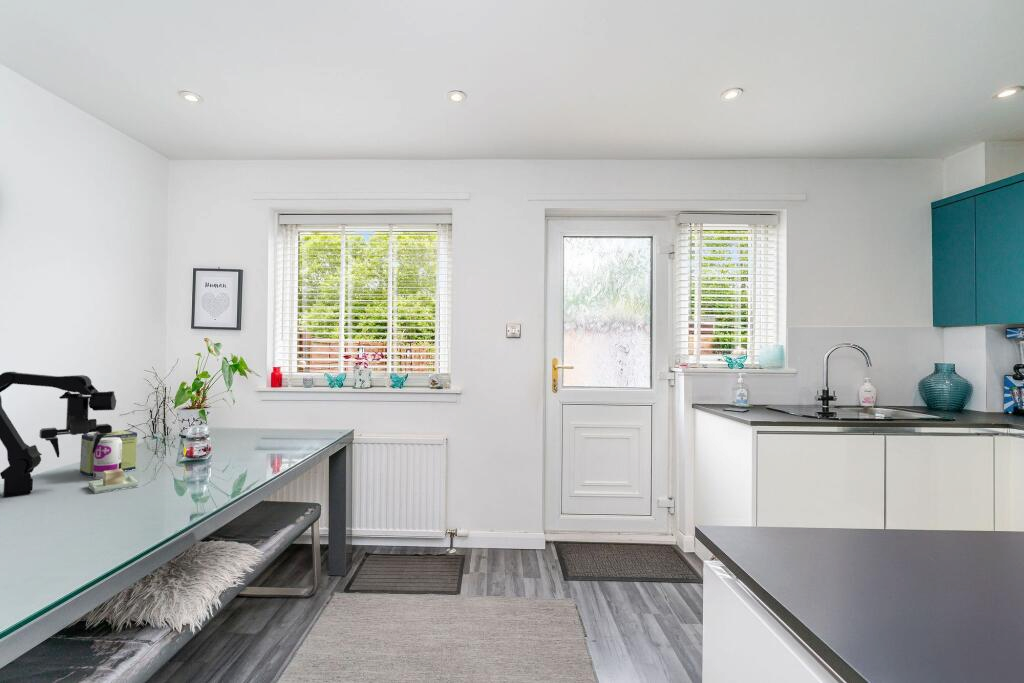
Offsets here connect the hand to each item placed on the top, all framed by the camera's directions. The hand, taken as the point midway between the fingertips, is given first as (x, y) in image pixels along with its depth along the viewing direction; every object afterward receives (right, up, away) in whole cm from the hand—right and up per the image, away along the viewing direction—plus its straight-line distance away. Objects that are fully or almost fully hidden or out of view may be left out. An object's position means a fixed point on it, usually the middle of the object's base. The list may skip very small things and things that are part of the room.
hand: (75, 455), depth 173 cm
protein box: (-9, -13, +25) cm, 30 cm away
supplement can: (-3, -13, +17) cm, 21 cm away
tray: (+10, -12, +4) cm, 16 cm away
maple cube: (+10, -12, +4) cm, 16 cm away
